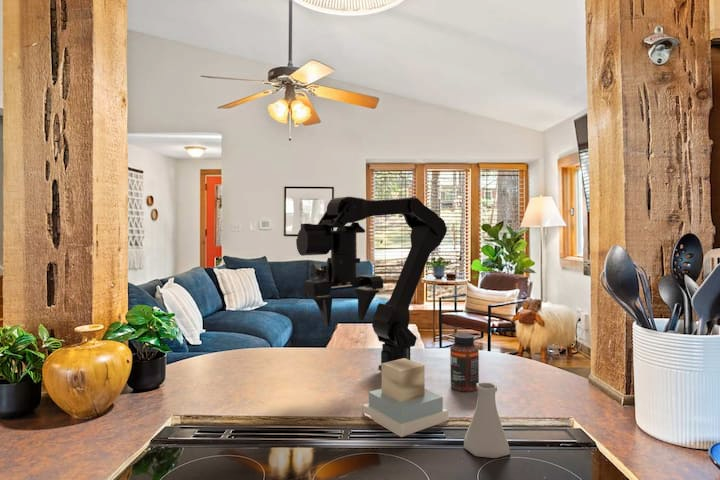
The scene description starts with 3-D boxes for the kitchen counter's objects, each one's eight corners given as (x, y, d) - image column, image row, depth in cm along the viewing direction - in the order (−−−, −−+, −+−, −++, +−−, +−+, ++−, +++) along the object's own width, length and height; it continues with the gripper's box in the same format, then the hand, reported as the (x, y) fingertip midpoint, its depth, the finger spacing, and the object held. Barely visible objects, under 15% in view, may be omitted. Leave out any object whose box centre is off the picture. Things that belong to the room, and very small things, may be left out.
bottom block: (407, 404, 91) (407, 391, 91) (448, 423, 82) (448, 410, 82) (362, 418, 85) (362, 404, 85) (401, 441, 76) (401, 426, 76)
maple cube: (404, 386, 87) (404, 358, 87) (424, 395, 82) (424, 365, 82) (381, 393, 84) (381, 363, 84) (401, 402, 79) (400, 371, 79)
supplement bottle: (481, 385, 100) (481, 333, 99) (475, 394, 94) (476, 340, 94) (453, 381, 102) (454, 330, 102) (447, 390, 97) (447, 337, 96)
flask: (456, 438, 75) (457, 378, 75) (499, 436, 76) (500, 376, 76) (471, 461, 68) (471, 394, 68) (518, 458, 69) (519, 393, 68)
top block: (408, 394, 90) (408, 381, 90) (442, 410, 82) (442, 396, 82) (368, 405, 84) (368, 391, 84) (401, 424, 77) (400, 409, 76)
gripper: (355, 250, 114) (356, 312, 115) (289, 253, 103) (290, 322, 103) (384, 252, 105) (385, 319, 106) (315, 256, 94) (316, 332, 94)
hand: (344, 323), depth 102 cm, fingers open, 9 cm apart
